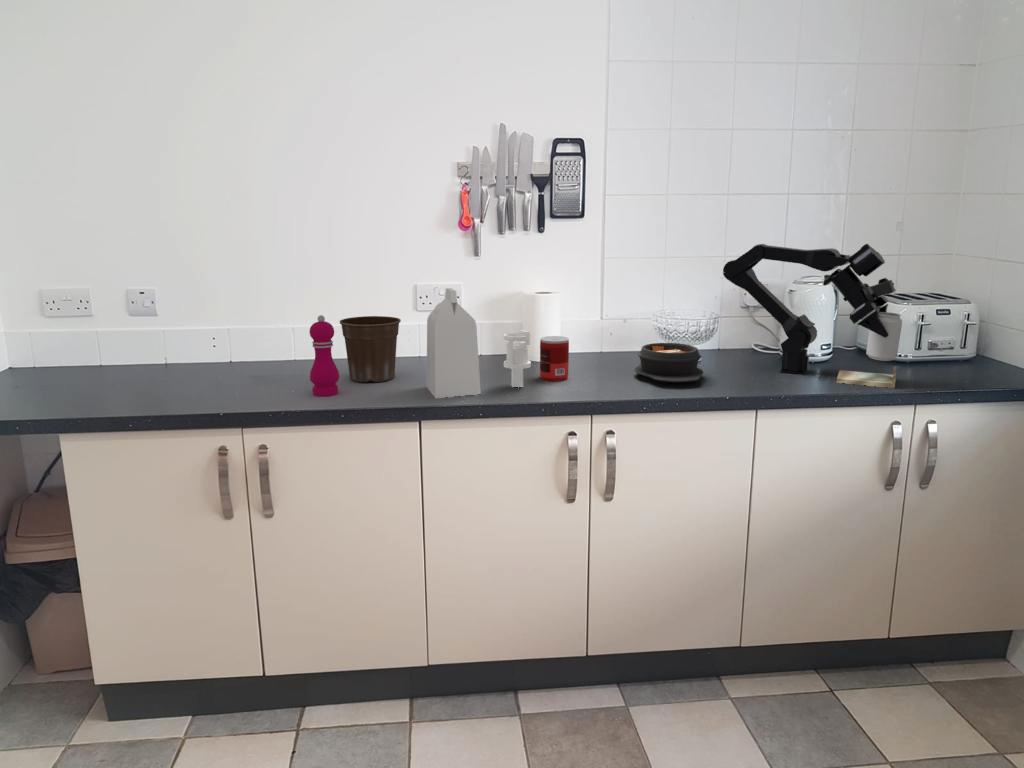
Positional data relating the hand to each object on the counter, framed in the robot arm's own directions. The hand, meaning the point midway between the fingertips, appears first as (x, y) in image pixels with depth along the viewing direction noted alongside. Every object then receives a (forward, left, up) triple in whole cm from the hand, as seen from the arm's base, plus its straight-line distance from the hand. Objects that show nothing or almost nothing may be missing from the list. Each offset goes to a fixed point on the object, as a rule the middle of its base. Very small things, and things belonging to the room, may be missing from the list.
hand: (890, 334), depth 207 cm
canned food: (-82, -32, -13) cm, 89 cm away
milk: (-100, -56, -13) cm, 115 cm away
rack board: (-5, 0, -13) cm, 14 cm away
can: (-2, 0, -7) cm, 7 cm away
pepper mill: (-128, -72, -13) cm, 147 cm away
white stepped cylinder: (-87, -45, -13) cm, 99 cm away
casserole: (-54, -18, -13) cm, 58 cm away
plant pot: (-127, -53, -13) cm, 138 cm away
